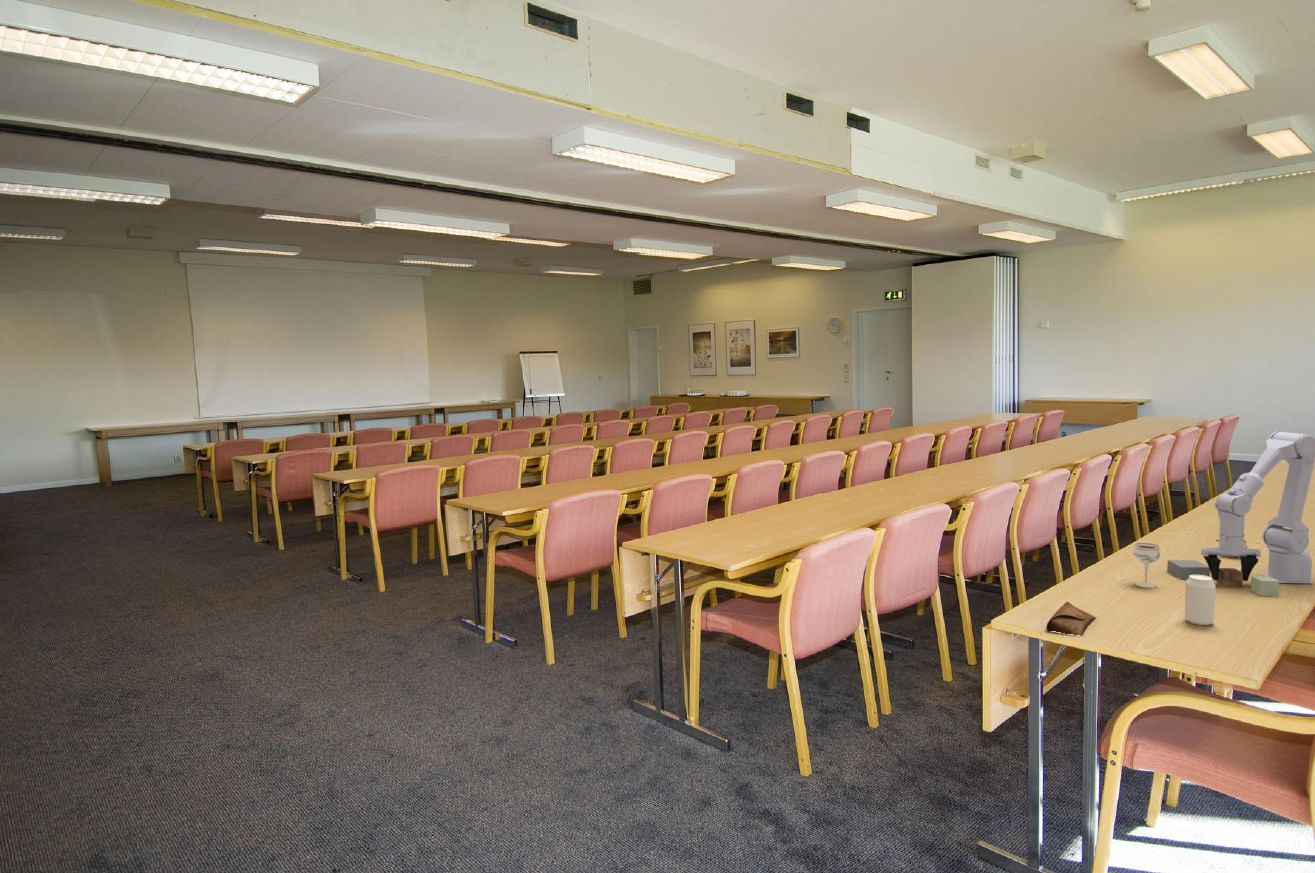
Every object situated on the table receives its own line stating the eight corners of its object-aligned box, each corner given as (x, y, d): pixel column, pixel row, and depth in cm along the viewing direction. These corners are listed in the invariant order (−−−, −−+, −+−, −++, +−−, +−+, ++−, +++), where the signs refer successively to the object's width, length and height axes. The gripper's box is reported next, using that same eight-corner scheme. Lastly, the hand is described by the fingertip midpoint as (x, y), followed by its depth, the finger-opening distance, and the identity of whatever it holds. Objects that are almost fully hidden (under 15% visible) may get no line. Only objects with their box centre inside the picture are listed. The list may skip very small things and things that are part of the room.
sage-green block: (1268, 591, 216) (1269, 576, 215) (1278, 596, 212) (1279, 580, 211) (1251, 591, 217) (1251, 575, 216) (1260, 596, 212) (1260, 580, 212)
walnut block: (1233, 582, 225) (1234, 568, 224) (1242, 587, 220) (1242, 572, 220) (1216, 582, 226) (1217, 567, 225) (1224, 587, 221) (1225, 572, 221)
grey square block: (1194, 572, 237) (1195, 560, 236) (1209, 580, 229) (1210, 567, 228) (1167, 572, 238) (1167, 560, 237) (1180, 580, 230) (1181, 567, 229)
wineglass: (1135, 587, 224) (1136, 547, 223) (1130, 580, 230) (1131, 542, 229) (1161, 589, 221) (1163, 549, 220) (1156, 582, 228) (1157, 543, 226)
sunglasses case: (1083, 637, 187) (1068, 612, 189) (1056, 646, 192) (1042, 622, 193) (1097, 617, 201) (1083, 594, 203) (1072, 625, 205) (1058, 603, 207)
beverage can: (1181, 623, 195) (1183, 577, 193) (1187, 616, 199) (1188, 572, 198) (1211, 628, 190) (1213, 582, 189) (1216, 621, 194) (1218, 576, 193)
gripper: (1251, 531, 224) (1250, 576, 225) (1196, 531, 227) (1195, 575, 228) (1265, 537, 217) (1263, 583, 218) (1208, 537, 220) (1207, 582, 221)
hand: (1229, 579), depth 223 cm, fingers open, 7 cm apart
